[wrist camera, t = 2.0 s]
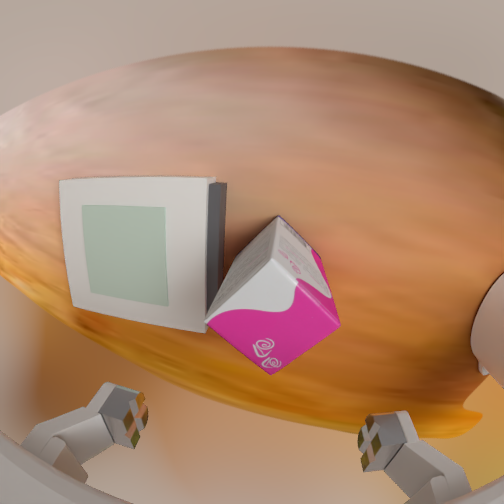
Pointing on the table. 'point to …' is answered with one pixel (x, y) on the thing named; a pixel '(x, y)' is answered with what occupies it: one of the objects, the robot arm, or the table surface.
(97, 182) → the dock
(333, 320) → the supplement box
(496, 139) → the table surface
